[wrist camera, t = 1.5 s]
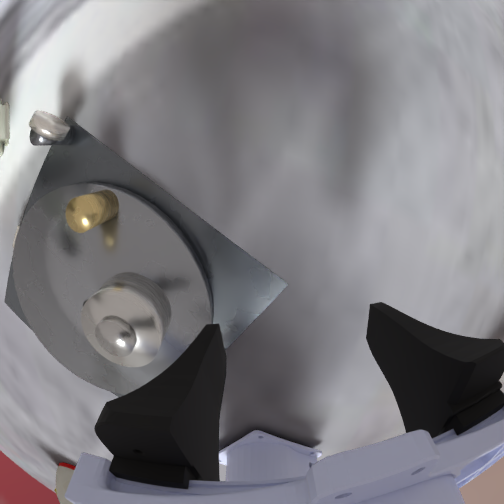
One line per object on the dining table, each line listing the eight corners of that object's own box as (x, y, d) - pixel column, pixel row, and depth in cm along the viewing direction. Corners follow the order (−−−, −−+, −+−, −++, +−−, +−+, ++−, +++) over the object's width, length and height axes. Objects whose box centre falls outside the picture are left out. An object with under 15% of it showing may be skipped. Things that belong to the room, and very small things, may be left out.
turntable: (266, 288, 17) (271, 325, 13) (148, 410, 21) (137, 444, 17) (64, 133, 14) (23, 131, 10) (8, 302, 18) (-17, 322, 14)
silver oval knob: (87, 132, 14) (50, 129, 10) (75, 153, 15) (37, 155, 11) (63, 114, 14) (27, 109, 10) (52, 134, 14) (15, 134, 10)
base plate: (287, 280, 18) (288, 284, 18) (155, 413, 23) (154, 417, 22) (71, 117, 14) (67, 116, 14) (8, 299, 19) (4, 302, 18)
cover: (186, 304, 16) (172, 339, 13) (150, 351, 17) (134, 385, 14) (120, 256, 15) (92, 280, 12) (92, 309, 16) (67, 337, 13)
